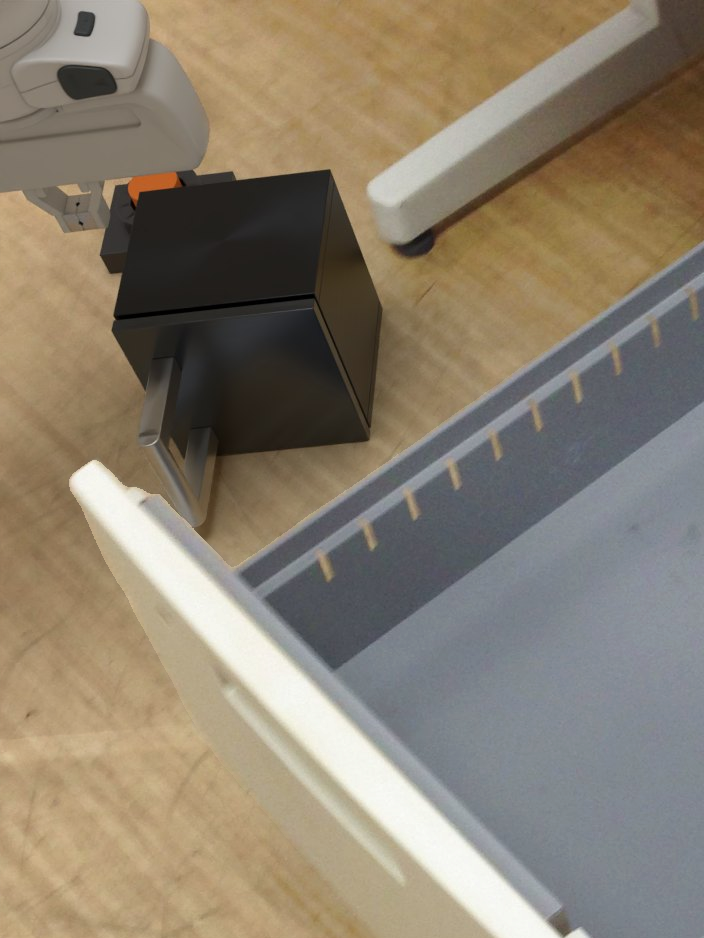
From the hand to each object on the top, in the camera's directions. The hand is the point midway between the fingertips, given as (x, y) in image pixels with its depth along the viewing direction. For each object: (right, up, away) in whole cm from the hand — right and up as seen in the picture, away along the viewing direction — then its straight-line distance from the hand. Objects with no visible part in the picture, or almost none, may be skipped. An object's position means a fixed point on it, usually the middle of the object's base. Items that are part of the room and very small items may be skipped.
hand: (88, 224), depth 118 cm
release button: (-2, +8, +24) cm, 26 cm away
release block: (-1, +6, +27) cm, 28 cm away
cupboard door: (+10, -16, +11) cm, 22 cm away
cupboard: (+10, -8, +17) cm, 21 cm away
